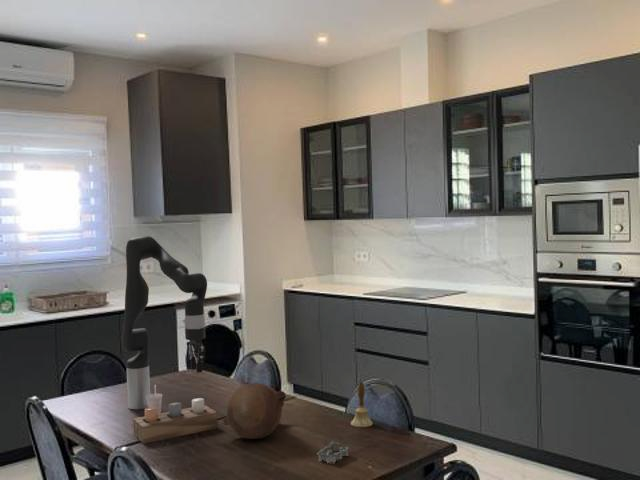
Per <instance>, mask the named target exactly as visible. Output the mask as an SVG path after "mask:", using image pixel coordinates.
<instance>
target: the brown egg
mask: <svg viewBox="0 0 640 480" xmlns="http://www.w3.org/2000/svg"><path fill="white" fill-rule="evenodd" d="M144 416H145V423H151V422H156V421H158V408H157V407H147V408H144Z"/></svg>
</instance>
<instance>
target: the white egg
mask: <svg viewBox="0 0 640 480" xmlns="http://www.w3.org/2000/svg"><path fill="white" fill-rule="evenodd" d="M204 405H205V399H204V398H202V397H198V398H193V399H192V400H191V407H192V413H193V414H196V413H202V412H205V410H204Z"/></svg>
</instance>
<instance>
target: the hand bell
mask: <svg viewBox="0 0 640 480" xmlns="http://www.w3.org/2000/svg"><path fill="white" fill-rule="evenodd" d="M365 392H366V391H365V384H364V382H363V381H359V382H358V386H357V394H358V395H357V396H358V399H359V402H358V405H359V406H358V407H357V408H356V409H355V413H354V418H353V420H351V421H350V425H351V426H353V427H355V428H369V427H371V426H373V421H372V420H371V419H370V417H369V416H370V415H369V413H368V409H367V408H365V405H364V403H365V402H364V396H365V394H366V393H365Z"/></svg>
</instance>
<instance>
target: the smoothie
mask: <svg viewBox="0 0 640 480" xmlns="http://www.w3.org/2000/svg"><path fill="white" fill-rule="evenodd" d="M153 386H154V393H150V394H149V395H147V396H146V399H147V403H148V407H157V408H158V414H160V413H162V412H161V411H162V399H163V394H162V393H157V384H154V385H153ZM148 407H147V408H148Z"/></svg>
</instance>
